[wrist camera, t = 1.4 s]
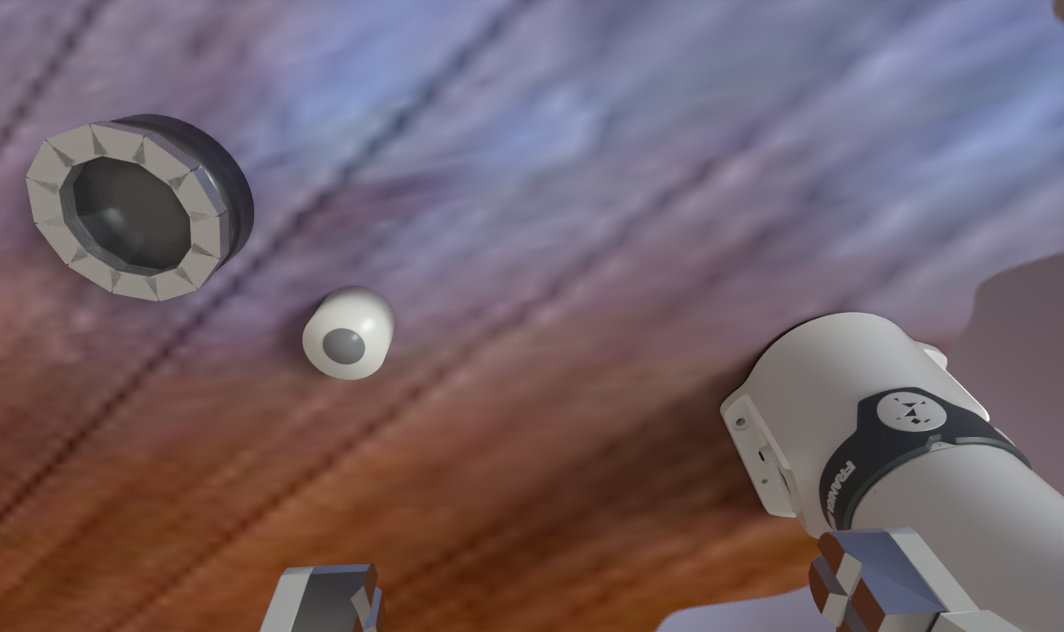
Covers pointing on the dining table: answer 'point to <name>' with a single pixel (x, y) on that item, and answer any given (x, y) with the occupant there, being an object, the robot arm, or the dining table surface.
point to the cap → (350, 333)
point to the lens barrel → (141, 204)
